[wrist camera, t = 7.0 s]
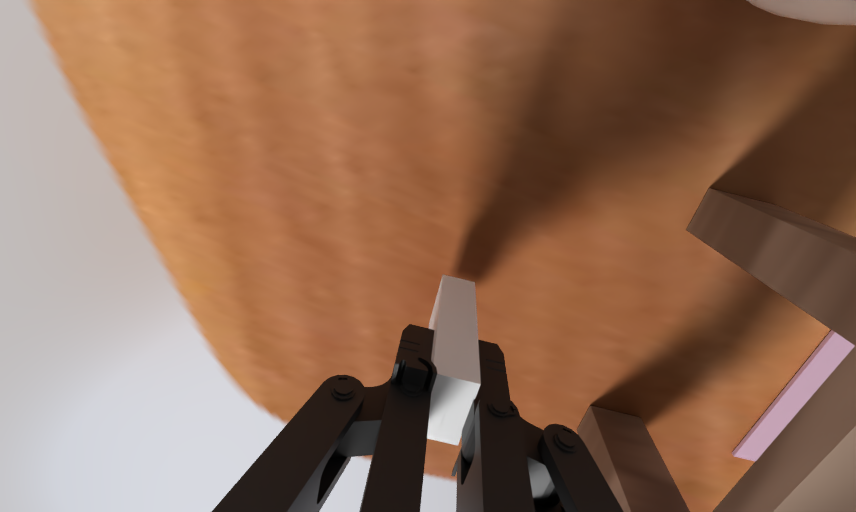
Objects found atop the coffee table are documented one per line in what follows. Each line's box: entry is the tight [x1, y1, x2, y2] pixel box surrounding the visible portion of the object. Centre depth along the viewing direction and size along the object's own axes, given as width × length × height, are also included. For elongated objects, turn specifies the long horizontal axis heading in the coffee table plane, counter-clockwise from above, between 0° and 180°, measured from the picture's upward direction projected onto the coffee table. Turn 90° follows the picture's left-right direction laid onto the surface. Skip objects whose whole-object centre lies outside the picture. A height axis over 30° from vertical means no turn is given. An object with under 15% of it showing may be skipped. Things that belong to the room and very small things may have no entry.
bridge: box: [577, 188, 856, 512], centre depth 16 cm, size 3×15×10 cm, turn 167°
